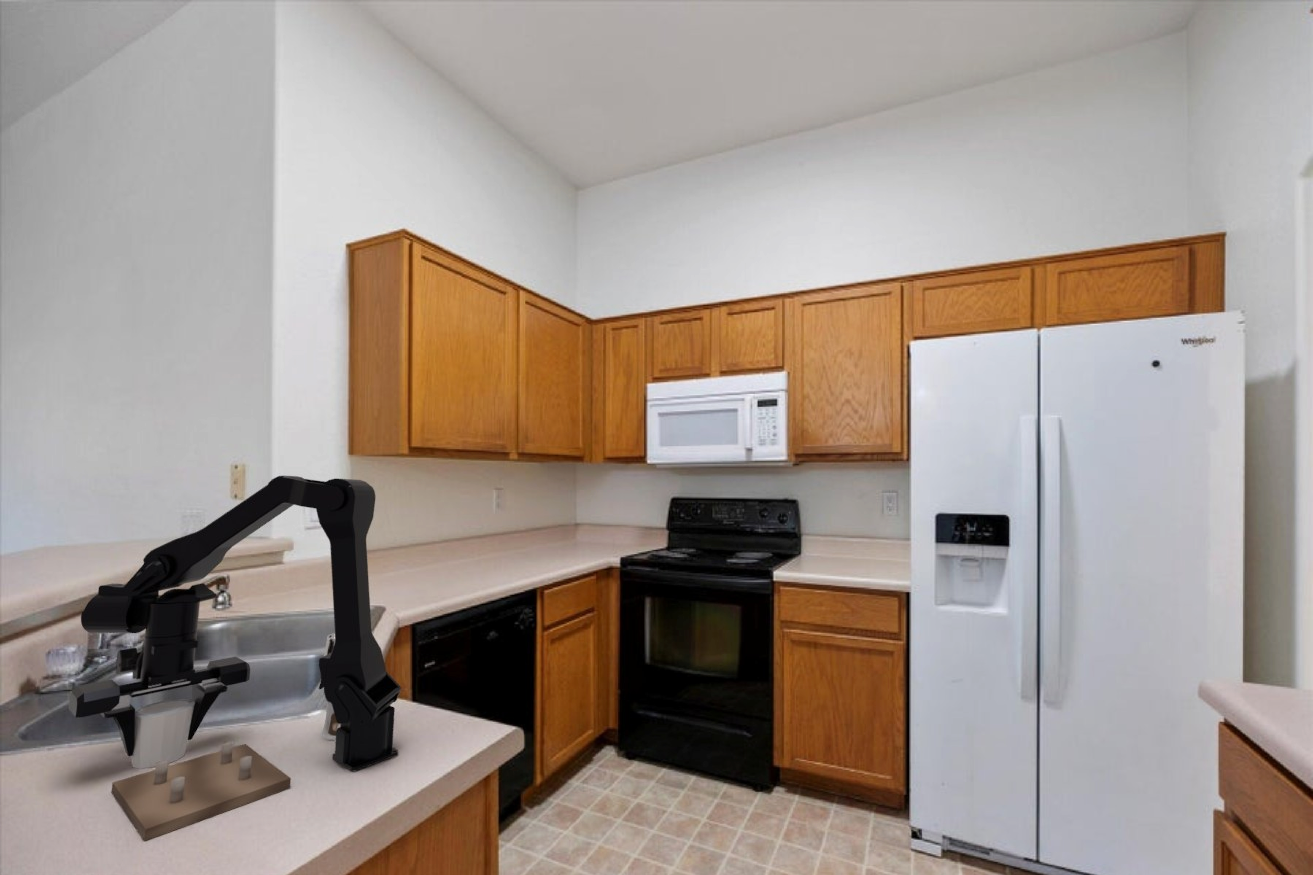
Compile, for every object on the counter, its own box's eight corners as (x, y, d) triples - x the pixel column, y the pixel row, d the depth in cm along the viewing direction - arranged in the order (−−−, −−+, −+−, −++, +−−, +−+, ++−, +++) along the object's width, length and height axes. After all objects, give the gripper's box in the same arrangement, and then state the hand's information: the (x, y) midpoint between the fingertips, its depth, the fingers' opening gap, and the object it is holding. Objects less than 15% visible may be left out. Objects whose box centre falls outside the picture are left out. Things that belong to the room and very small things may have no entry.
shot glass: (201, 753, 80) (205, 702, 81) (141, 774, 74) (147, 719, 75) (174, 744, 83) (179, 695, 84) (114, 763, 77) (120, 710, 78)
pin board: (244, 752, 81) (246, 726, 81) (289, 787, 71) (292, 758, 72) (111, 792, 70) (114, 761, 70) (144, 840, 60) (148, 805, 61)
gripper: (230, 614, 93) (221, 713, 91) (68, 636, 78) (54, 754, 76) (255, 624, 86) (246, 731, 84) (84, 650, 71) (69, 780, 70)
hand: (160, 747), depth 79 cm, fingers closed on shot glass, 6 cm apart
